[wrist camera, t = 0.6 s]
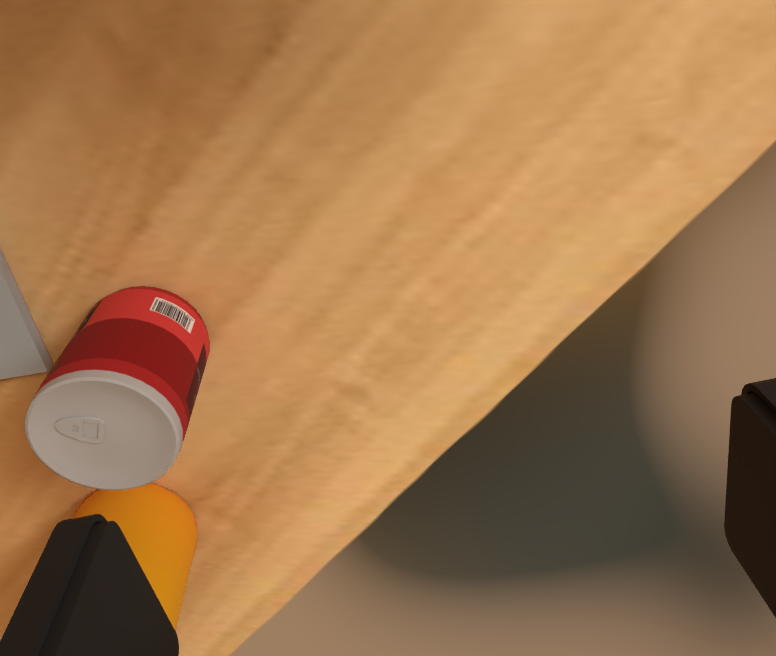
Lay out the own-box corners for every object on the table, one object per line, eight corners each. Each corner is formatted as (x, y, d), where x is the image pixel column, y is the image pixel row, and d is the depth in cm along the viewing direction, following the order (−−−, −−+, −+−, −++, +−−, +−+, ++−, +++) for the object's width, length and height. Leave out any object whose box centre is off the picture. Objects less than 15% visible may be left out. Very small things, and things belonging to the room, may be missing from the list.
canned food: (75, 285, 44) (3, 381, 35) (202, 278, 45) (166, 371, 35) (103, 385, 48) (45, 497, 38) (220, 378, 48) (192, 487, 39)
